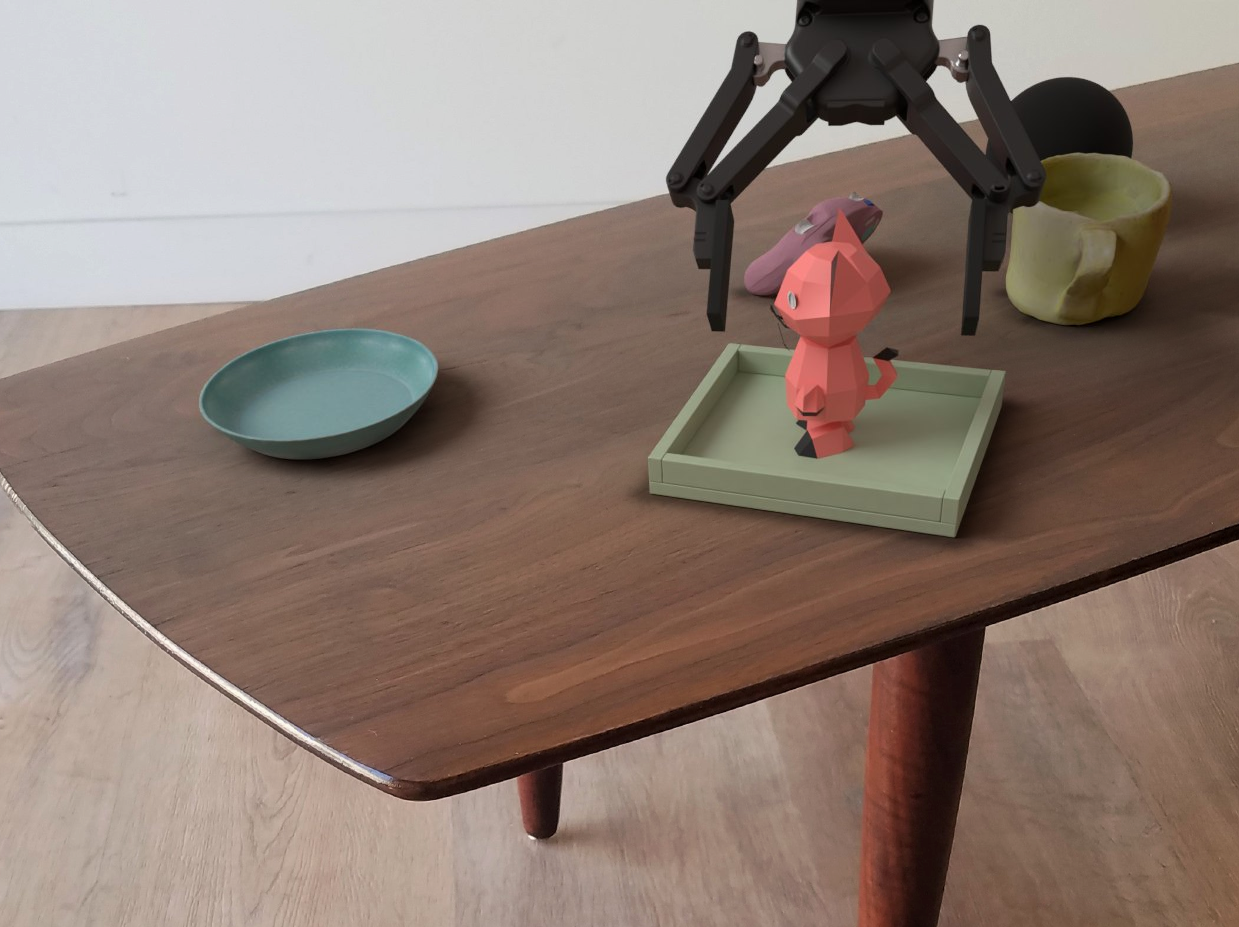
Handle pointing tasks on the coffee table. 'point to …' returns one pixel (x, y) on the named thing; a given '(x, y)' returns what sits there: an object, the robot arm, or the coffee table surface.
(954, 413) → the sage green tray
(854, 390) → the cat figurine
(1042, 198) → the mug
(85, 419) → the coffee table surface
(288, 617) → the coffee table surface
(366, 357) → the saucer
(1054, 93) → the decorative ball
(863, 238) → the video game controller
